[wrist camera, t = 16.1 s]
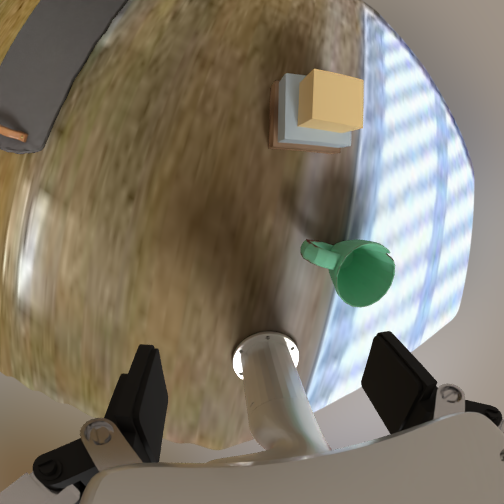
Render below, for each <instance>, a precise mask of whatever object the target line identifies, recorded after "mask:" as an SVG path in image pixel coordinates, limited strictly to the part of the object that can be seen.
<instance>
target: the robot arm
mask: <svg viewBox="0 0 504 504" xmlns="http://www.w3.org/2000/svg"><path fill="white" fill-rule="evenodd" d="M298 360H299V352H298V348H297V346H296V344H295V343H294V341H293V340H292V339H291V338H290V337H288V336H286V335H285V334H282V333H279V332H272V331H270V332H260V333H256V334H253V335H251V336H249V337H247V338H246V339H244V340H243V341H242V342H241V343H240V344H239V345H238V346H237V348H236V349H235V351H234V354H233V360H232V361H233V367H234V370H235V372H236V374H237V375H238V376H239V377H240V378H241V379H243V382H244V390H245V397H246V405H247V412H248V420H249V427H250V431H251V434H252V436H253V438H254V439H255V440H256V442H257V443H258V444H259V445H260V446H262V447H263V448H264V449H265V450H266V451H262V452H258V453H253V454H247V455H241V456H234V457H228V458H221V459H216V460H212V461H209V462H207V463H162V462H159V458H160V451H161V443H162V437H163V430H164V423H165V417H166V411H167V405H168V393H167V389H166V384H165V380H164V375H163V370H162V365H161V360H160V354H159V350H158V349H154V346H153V345H142V344H140V345H139V347H138V349H137V352H136V354H135V357H134V360H133V362H132V365H131V367H130V370H129V373H128V374H121V376H120V378H119V380H118V383H117V385H116V388H115V390H114V393H113V395H112V398H111V401H110V403H109V406H108V409H107V412H106V414H105V417H104V418H95V419H91V420H89V421H87V422H86V423H85V424H84V425H83V426H82V428H81V430H80V436H81V438H80V439H78V440H75V441H73V442H71V443H69V444H66V445H64V446H62V447H59V448H57V449H55V450H52V451H50V452H47V453H45V454H42V455H41V456H39V457H38V458H37V459H36V460H35V462H34V464H33V472H32V473H31V474H29V475H28V473H25V474H24V475H23V476H21V477H20V478H19V479H18V480H16V481H15V482H14V483H13V484H11V485H10V486H9V487H7V488H6V489H5V490H4V491H2V492H1V493H0V504H504V419H502V414H501V413H500V411H499V410H498V409H497V408H496V407H493V406H490V405H486V404H481V403H477V402H472V401H468V400H465V395H464V392H463V391H462V389H460V388H459V387H458V386H456V385H452V384H443V385H441V386H440V387H439V388H437V387H436V384H437V381H436V380H435V379H434V378H433V377H432V376H431V374H430V373H429V372H428V371H427V370H426V369H425V368H424V367H423V366H422V364H421V363H420V362H419V361H418V360H417V359H416V358H415V357H414V356H413V355H412V354H411V353H410V352H409V350H408V349H407V348H406V347H405V346H404V345H403V344H402V343H401V342H400V341H399V340H398V339H397V338H396V337H395V336H394V335H393V333H392V332H390V331H387V332H380V333H378V334H377V335H376V336H375V337H374V339H373V342H372V346H371V350H370V353H369V357H368V360H367V364H366V367H365V371H364V374H363V377H362V381H361V385H362V388H363V389H364V391H365V393H366V394H367V396H368V397H369V399H370V401H371V402H372V404H373V406H374V407H375V409H376V411H377V412H378V414H379V416H380V417H381V419H382V420H383V422H384V424H385V426H386V427H387V429H388V431H389V432H390V434H391V435H388V436H384V437H381V438H378V439H374V440H371V441H367V442H364V443H360V444H356V445H352V446H348V447H344V448H340V449H335V450H332V449H331V448H330V446H329V445H328V443H327V442H326V440H325V438H324V436H323V435H322V433H321V431H320V428H319V426H318V424H317V422H316V419H315V417H314V414H313V412H312V409H311V407H310V404H309V401H308V398H307V396H306V393H305V391H304V388H303V385H302V383H301V380H300V377H299V375H298V372H297V369H296V366H297V364H298Z"/></svg>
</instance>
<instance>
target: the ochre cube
mask: <svg viewBox="0 0 504 504" xmlns="http://www.w3.org/2000/svg"><path fill="white" fill-rule="evenodd" d="M297 126H298V127H305V128H312V129H319V130H325V131H332V132H337V133H345V132H349V131H353V130H357V129H361V128H363V80H361V79H358V78H354V77H350V76H346V75H342V74H337V73H333V72H328V71H324V70H319V69H313V70H312V71H311V72H310V73H309V74H308V75H307V76H306V77H305V78H304V79H303V80H302V81H301V82H300V83H299V105H298V124H297Z"/></svg>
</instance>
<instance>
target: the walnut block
mask: <svg viewBox="0 0 504 504" xmlns="http://www.w3.org/2000/svg"><path fill="white" fill-rule="evenodd" d="M279 82H280V81H279V80H275V81H274V83H273V85H272V86H271V88H270V119H269V147H268V149H282V150H295V151H307V152H317V153H326V154H335V153H340V148H341V147H340V148H335V147H326V146H317V145H306V144H294V143H280V142H278V104H279Z"/></svg>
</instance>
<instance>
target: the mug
mask: <svg viewBox="0 0 504 504" xmlns="http://www.w3.org/2000/svg"><path fill="white" fill-rule="evenodd" d="M387 253H390V251H389V250H388V249H387V248H385V247H384V246H383V245H381V244H379V243H376V242H371V241H365V240H347V241H342V242H339V243H337V244H335V245H330V244H327V243H324V242H321V241H317V240H309V239H306V240H305V241H304V242H303V244H302V246H301V255H302V257H303V258H304V259H305V260H307V261H309V262H310V263H312V264H315V265H318V266H321V267H324V268H328V269H329V273H330V276H331V278H332V281H333V284H334V286H335V289H336V292H337V294H338V295H339V296H340V297H341V299H342V300H343V301H344V302H345V303H347V304H349V305H350V306H352V307H365V306H369V305H371V304H373V303H375V302H377V301H379V300H380V299H381V298H382V297H383V296H384V295H385V294H386V292H387V291H388V289H389V288H390V286H391V284H392V281H393V278H394V275H395V264H394V260H393V259H392V258H391V257H390V256H389V255H388V254H387Z"/></svg>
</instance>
